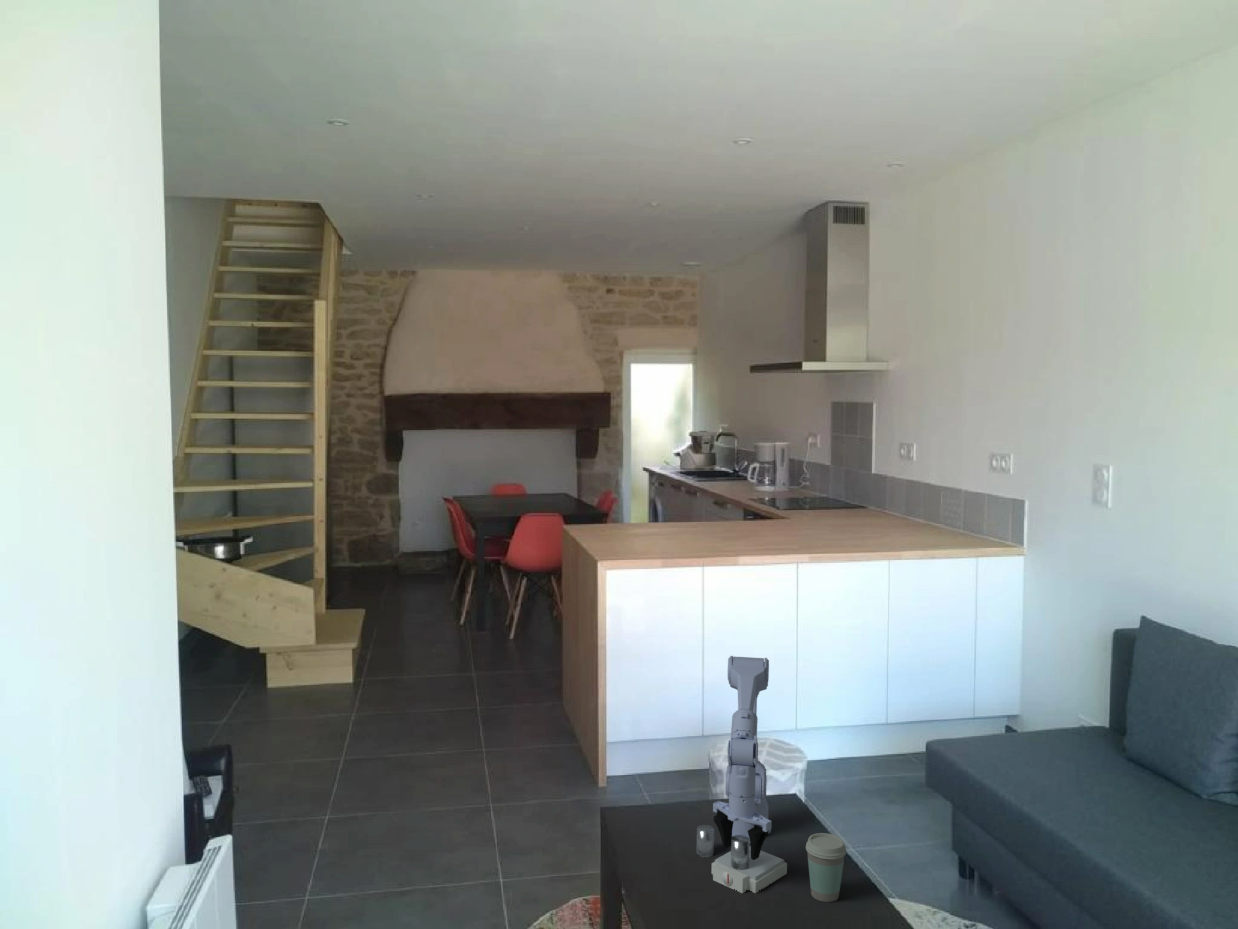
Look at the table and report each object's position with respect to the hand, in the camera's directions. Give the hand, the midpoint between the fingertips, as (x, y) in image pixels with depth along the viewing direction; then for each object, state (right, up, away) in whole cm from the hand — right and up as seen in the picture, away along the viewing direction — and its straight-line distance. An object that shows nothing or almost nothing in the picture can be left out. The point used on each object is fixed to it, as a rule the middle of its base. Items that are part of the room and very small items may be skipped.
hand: (741, 852), depth 206 cm
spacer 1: (-7, -5, +12) cm, 15 cm away
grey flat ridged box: (+1, -6, +2) cm, 6 cm away
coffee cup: (+17, -7, -6) cm, 20 cm away
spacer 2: (0, -3, 0) cm, 3 cm away
